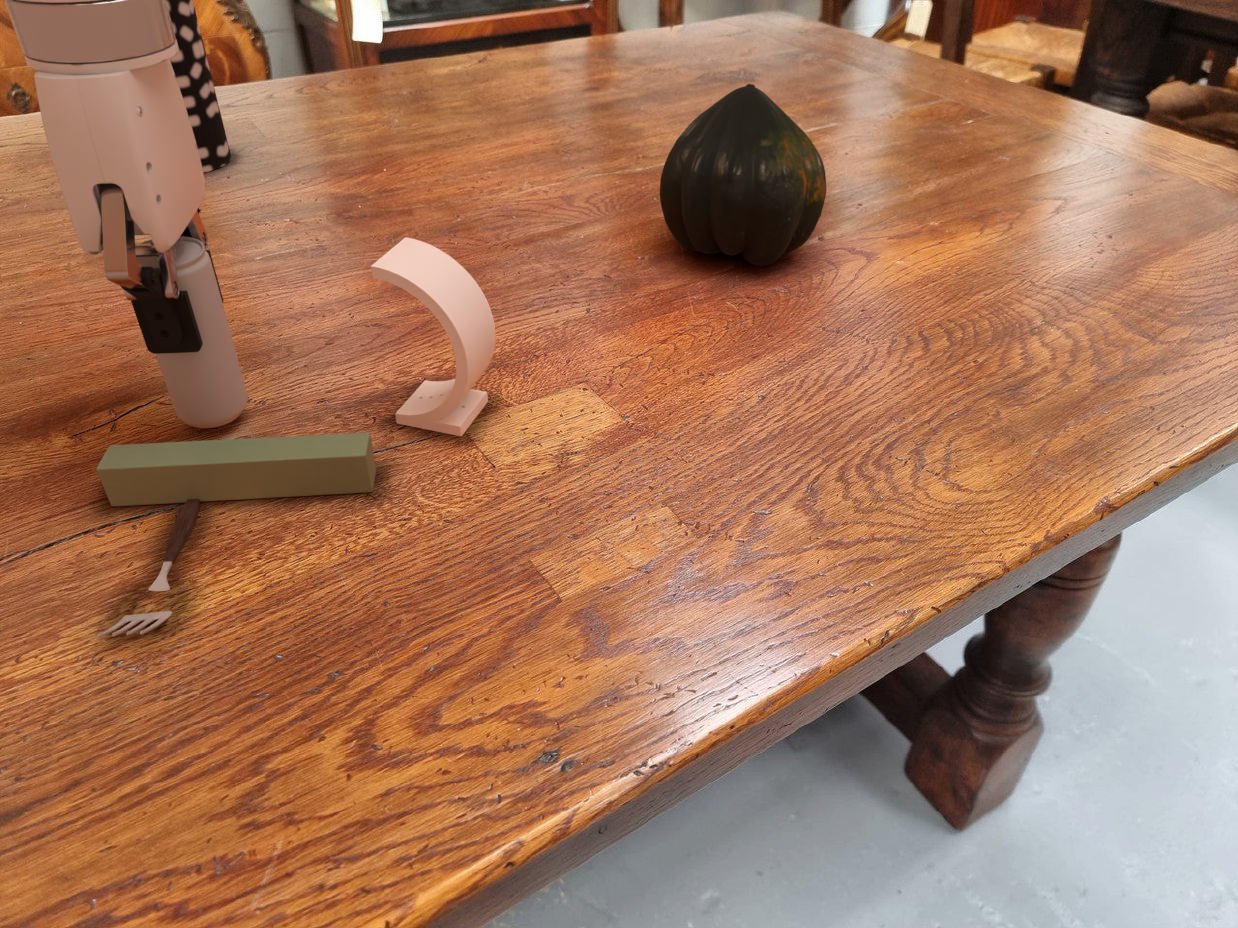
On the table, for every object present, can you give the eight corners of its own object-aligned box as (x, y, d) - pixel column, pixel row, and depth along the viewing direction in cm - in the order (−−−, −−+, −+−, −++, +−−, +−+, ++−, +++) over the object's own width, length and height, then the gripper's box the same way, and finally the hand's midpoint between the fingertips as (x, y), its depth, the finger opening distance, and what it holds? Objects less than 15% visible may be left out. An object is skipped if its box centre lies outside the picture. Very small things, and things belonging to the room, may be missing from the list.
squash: (737, 248, 76) (822, 80, 75) (607, 204, 84) (682, 52, 83) (801, 308, 87) (875, 164, 86) (680, 264, 96) (747, 132, 95)
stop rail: (111, 507, 57) (95, 469, 56) (123, 482, 59) (108, 444, 58) (372, 492, 59) (365, 455, 57) (377, 468, 61) (370, 431, 59)
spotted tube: (215, 144, 109) (167, -46, 97) (243, 164, 104) (195, -34, 92) (143, 159, 105) (82, -38, 93) (168, 180, 100) (107, -25, 88)
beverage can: (248, 387, 67) (205, 230, 59) (253, 423, 63) (208, 262, 56) (176, 400, 65) (123, 241, 58) (177, 437, 62) (121, 273, 54)
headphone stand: (426, 389, 68) (405, 237, 61) (501, 404, 67) (489, 250, 60) (396, 423, 65) (370, 266, 57) (474, 439, 63) (458, 280, 56)
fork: (231, 471, 61) (223, 447, 60) (157, 658, 48) (145, 632, 47) (190, 474, 61) (181, 450, 60) (106, 662, 48) (92, 636, 47)
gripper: (78, -7, 55) (164, 272, 67) (-54, 73, 42) (82, 404, 53) (207, -7, 56) (272, 268, 67) (119, 71, 43) (217, 398, 54)
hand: (187, 325), depth 60 cm, fingers closed on beverage can, 4 cm apart
